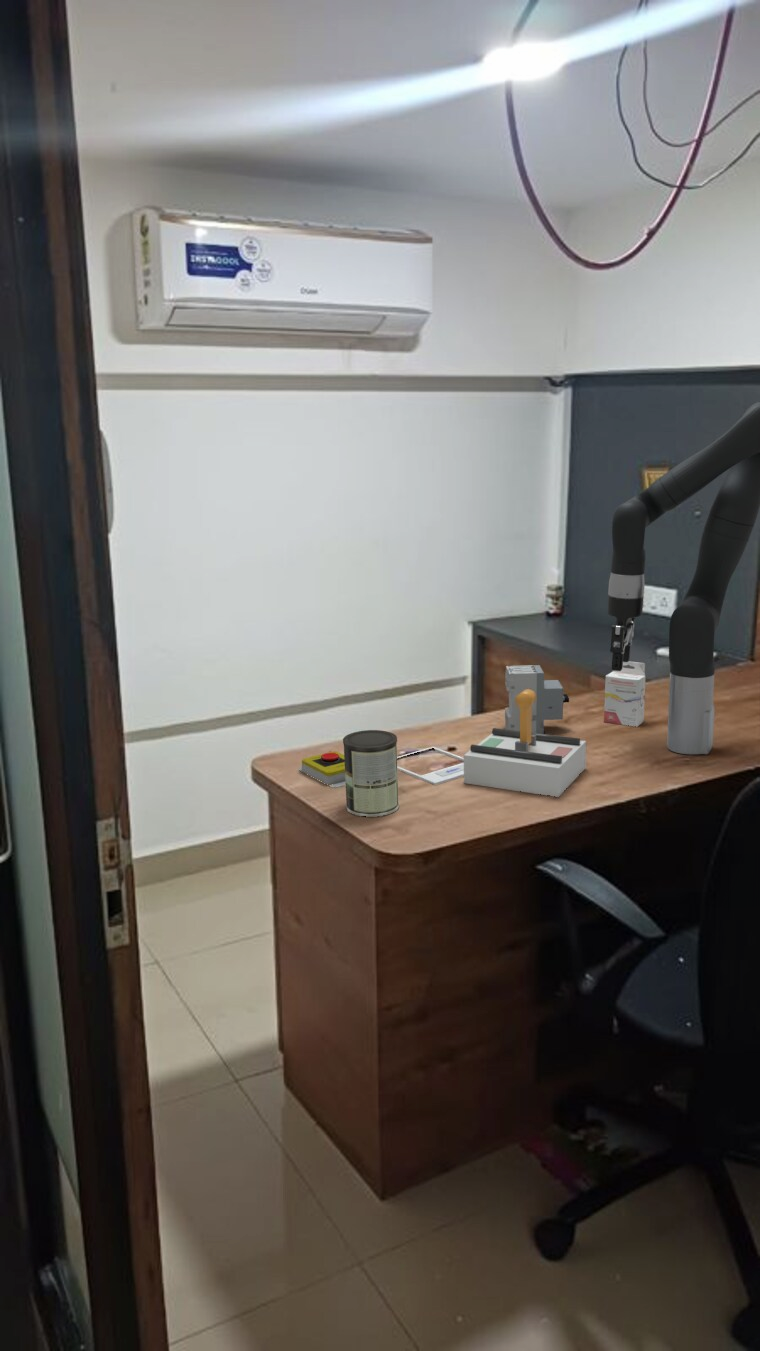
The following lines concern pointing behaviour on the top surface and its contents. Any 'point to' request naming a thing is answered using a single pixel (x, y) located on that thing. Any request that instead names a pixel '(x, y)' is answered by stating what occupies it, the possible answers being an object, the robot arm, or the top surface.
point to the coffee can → (371, 773)
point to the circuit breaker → (546, 697)
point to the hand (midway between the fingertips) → (620, 665)
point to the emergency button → (326, 768)
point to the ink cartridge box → (625, 695)
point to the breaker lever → (525, 713)
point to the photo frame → (442, 774)
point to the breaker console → (525, 762)
